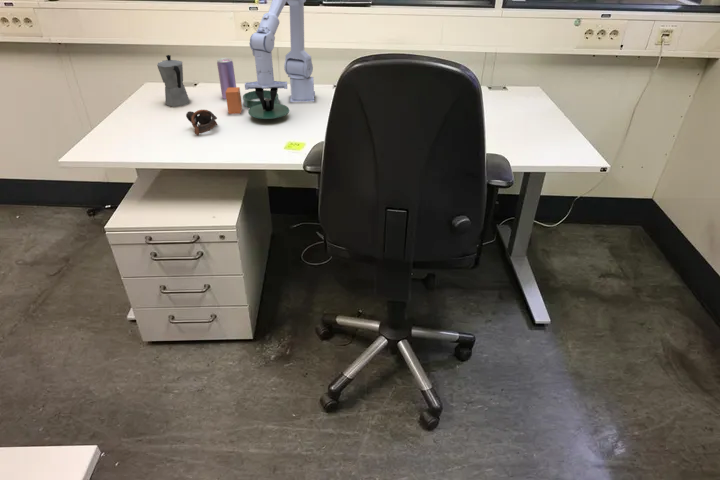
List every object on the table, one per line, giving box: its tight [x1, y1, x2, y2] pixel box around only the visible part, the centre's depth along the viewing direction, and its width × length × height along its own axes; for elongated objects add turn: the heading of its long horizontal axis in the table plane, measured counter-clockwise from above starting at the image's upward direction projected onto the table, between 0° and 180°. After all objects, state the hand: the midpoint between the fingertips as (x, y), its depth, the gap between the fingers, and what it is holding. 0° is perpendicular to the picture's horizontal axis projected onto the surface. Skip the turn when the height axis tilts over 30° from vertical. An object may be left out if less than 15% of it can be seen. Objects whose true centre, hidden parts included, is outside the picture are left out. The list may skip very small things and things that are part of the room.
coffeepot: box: [156, 54, 190, 108], centre depth 188 cm, size 15×9×18 cm, turn 36°
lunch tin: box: [242, 89, 280, 109], centre depth 192 cm, size 13×13×4 cm
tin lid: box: [248, 98, 290, 120], centre depth 178 cm, size 14×14×5 cm
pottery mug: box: [185, 109, 219, 136], centre depth 170 cm, size 12×10×8 cm
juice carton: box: [225, 86, 243, 115], centre depth 184 cm, size 4×6×8 cm
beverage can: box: [216, 57, 237, 100], centre depth 195 cm, size 6×6×15 cm
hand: (268, 108), depth 178 cm, fingers closed on tin lid, 2 cm apart
